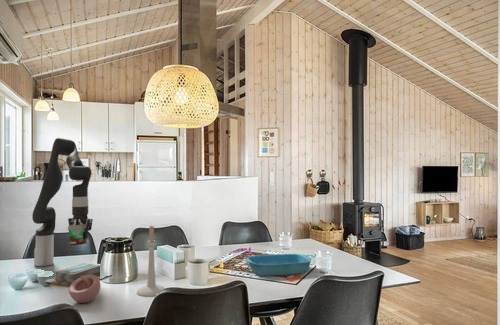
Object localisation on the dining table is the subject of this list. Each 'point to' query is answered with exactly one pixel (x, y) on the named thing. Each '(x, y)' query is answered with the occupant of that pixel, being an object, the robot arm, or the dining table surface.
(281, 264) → the casserole dish
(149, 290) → the candlestick
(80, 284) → the mortar and pestle
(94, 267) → the plinth
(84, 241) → the food container
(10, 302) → the dining table surface
